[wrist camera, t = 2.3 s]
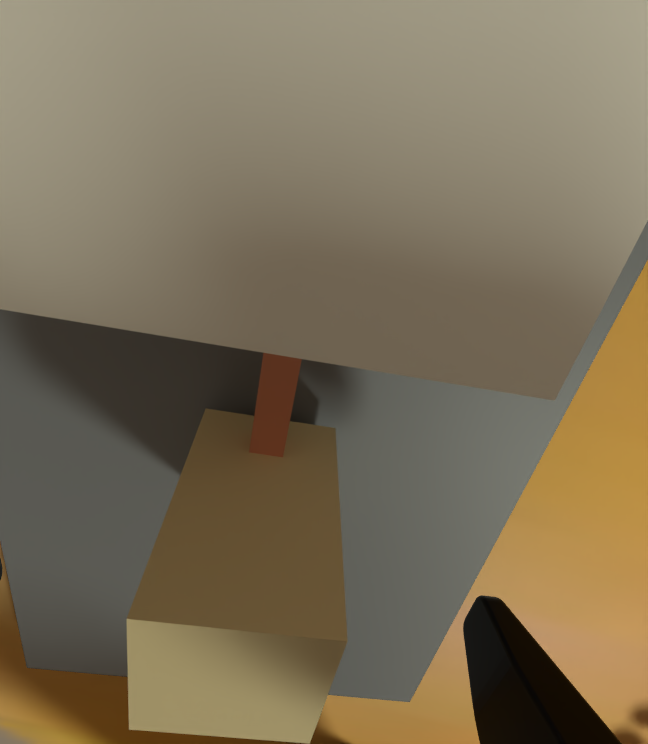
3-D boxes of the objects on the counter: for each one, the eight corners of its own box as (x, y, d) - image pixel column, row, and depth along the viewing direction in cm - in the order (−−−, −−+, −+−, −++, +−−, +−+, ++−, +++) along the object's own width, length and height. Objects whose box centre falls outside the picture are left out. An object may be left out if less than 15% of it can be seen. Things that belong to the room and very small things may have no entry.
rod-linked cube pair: (366, 511, 13) (394, 750, 8) (144, 482, 12) (32, 722, 7) (578, -137, 7) (1260, -785, 2) (149, -265, 6) (-507, -1738, 1)
